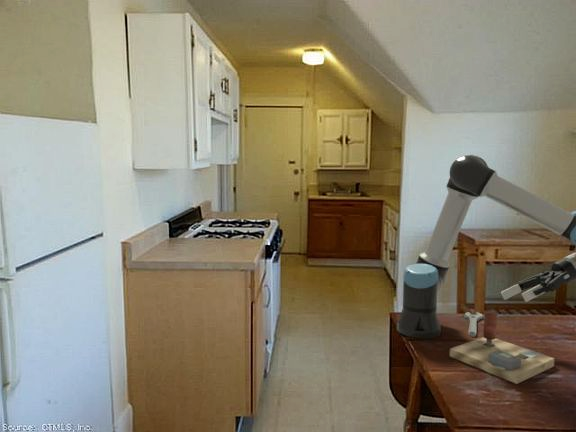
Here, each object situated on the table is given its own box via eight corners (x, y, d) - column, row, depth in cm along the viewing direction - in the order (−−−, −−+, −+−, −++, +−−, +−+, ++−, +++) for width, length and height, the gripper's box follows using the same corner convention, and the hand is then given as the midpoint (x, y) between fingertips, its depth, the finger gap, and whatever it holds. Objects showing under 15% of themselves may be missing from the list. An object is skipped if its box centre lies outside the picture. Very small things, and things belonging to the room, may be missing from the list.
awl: (480, 351, 153) (482, 312, 151) (486, 349, 155) (489, 310, 153) (490, 355, 150) (492, 315, 148) (496, 353, 152) (499, 313, 150)
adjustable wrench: (476, 339, 165) (476, 334, 165) (456, 335, 168) (457, 331, 168) (483, 317, 187) (483, 312, 187) (465, 314, 190) (465, 310, 190)
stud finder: (488, 361, 139) (488, 353, 139) (497, 357, 142) (498, 349, 142) (510, 370, 134) (511, 362, 133) (520, 366, 136) (521, 358, 136)
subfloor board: (449, 356, 149) (449, 348, 149) (487, 342, 160) (487, 335, 160) (516, 383, 131) (517, 374, 131) (553, 366, 142) (554, 358, 142)
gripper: (601, 279, 142) (539, 310, 140) (552, 279, 167) (500, 305, 165) (588, 256, 143) (527, 287, 141) (542, 259, 168) (489, 285, 166)
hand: (512, 296), depth 153 cm, fingers open, 13 cm apart
